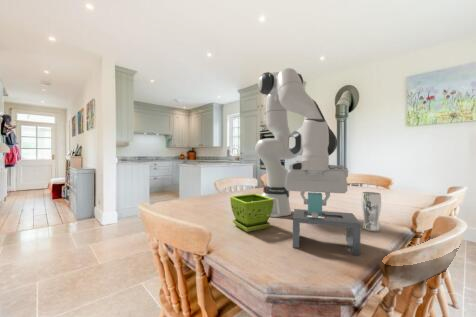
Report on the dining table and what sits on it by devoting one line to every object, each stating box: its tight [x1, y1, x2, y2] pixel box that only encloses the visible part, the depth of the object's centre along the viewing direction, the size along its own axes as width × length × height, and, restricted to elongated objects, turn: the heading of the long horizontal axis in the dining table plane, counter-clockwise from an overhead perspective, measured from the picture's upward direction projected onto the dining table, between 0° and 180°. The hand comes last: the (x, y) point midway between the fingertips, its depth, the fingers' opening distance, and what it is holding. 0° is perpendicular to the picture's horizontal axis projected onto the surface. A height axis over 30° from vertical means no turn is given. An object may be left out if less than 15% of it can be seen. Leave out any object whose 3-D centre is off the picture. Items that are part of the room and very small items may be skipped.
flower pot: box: [229, 193, 273, 233], centre depth 93 cm, size 14×14×13 cm
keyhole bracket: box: [292, 208, 361, 257], centre depth 76 cm, size 20×12×10 cm, turn 73°
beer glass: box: [361, 191, 382, 233], centre depth 91 cm, size 7×7×15 cm
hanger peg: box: [306, 192, 323, 226], centre depth 76 cm, size 5×5×10 cm
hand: (314, 204), depth 76 cm, fingers closed on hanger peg, 4 cm apart
